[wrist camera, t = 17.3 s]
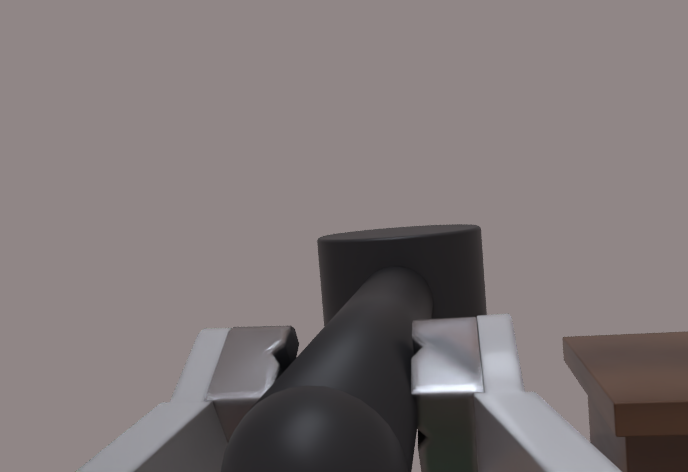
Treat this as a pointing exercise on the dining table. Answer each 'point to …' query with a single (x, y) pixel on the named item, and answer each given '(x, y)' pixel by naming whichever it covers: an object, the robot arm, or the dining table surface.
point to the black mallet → (362, 353)
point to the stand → (635, 397)
